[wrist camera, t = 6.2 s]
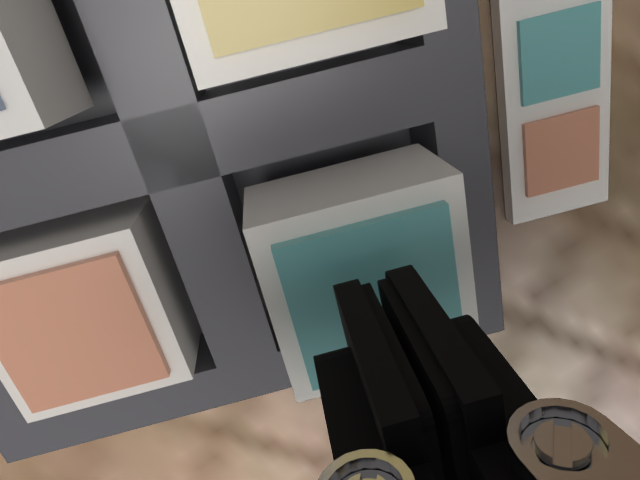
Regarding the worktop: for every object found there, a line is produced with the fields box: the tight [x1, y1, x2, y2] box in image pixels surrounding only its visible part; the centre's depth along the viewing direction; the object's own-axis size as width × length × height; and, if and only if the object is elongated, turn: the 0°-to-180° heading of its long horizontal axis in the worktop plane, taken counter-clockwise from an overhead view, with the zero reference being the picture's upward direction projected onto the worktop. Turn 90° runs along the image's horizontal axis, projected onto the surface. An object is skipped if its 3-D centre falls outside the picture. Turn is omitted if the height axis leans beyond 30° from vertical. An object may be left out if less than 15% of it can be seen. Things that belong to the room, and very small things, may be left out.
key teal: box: [242, 143, 479, 403], centre depth 13 cm, size 5×5×4 cm
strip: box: [490, 0, 612, 225], centre depth 16 cm, size 4×11×1 cm, turn 13°
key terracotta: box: [0, 195, 202, 423], centre depth 15 cm, size 5×5×4 cm
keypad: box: [0, 0, 504, 463], centre depth 14 cm, size 17×17×3 cm
